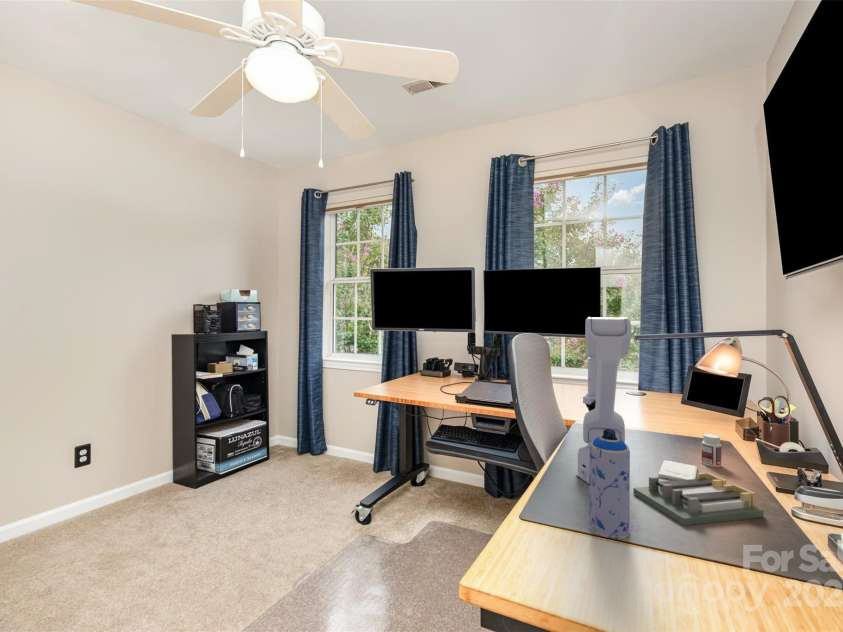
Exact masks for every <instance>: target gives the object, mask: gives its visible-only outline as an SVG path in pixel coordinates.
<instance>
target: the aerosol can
mask: <svg viewBox="0 0 843 632" xmlns="http://www.w3.org/2000/svg"><path fill="white" fill-rule="evenodd" d="M630 456H631V451H630V448H629V446H628V445H627V444H626V443H624V441H622V440H620V439H619V438H618V437H616V433H615V431H613V430H610V429H606V430H604V431H603V435H601V436H600V437H597V438H595V439H594V441H592V442H591V444H590V462H589V484H588V485H589V487H588V490H589V492H588V495H589V496H588V499H589V500H588V521H587V525H588V528H589V529H590V530H591V531H592V533H595V534H596V535H598V536H601V537H603V538H608V539H614V540H622V539H626V538H628V537H629V536H631V528H630V497H631V496H630V493H631V492H630V490H631V489H630V488H631V487H630V486H631V484H630V483H631V479H630V478H631V476H630V475H631V473H630V472H631V469H630V468H631V457H630Z"/></svg>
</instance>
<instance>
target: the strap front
mask: <svg viewBox="0 0 843 632" xmlns="http://www.w3.org/2000/svg"><path fill="white" fill-rule="evenodd" d="M692 497H696V498H698V499H699V502H705V501H717V500H730V499H740V494H739V493H737V492H735V491H721V492H708V493H695V494H683V495H680V498H682V499H684V500H686V501H688V498H692Z"/></svg>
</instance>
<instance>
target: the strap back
mask: <svg viewBox="0 0 843 632" xmlns="http://www.w3.org/2000/svg"><path fill="white" fill-rule="evenodd" d="M656 484H657V485H658V486H660V487H662V484H671V485H673V488H684V487H698V486H711V485H712V481H711V480H709V479H707V478H703V479H697V478H696V479H689V480H664V481H659V482H656Z"/></svg>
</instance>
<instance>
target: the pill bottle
mask: <svg viewBox="0 0 843 632" xmlns="http://www.w3.org/2000/svg"><path fill="white" fill-rule="evenodd" d="M702 439H703V440H702V441H701V463H702V465H704V466H708V467H711V468H720V467H722V444H721V437H720V435H716V434H713V433H703V435H702Z"/></svg>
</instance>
